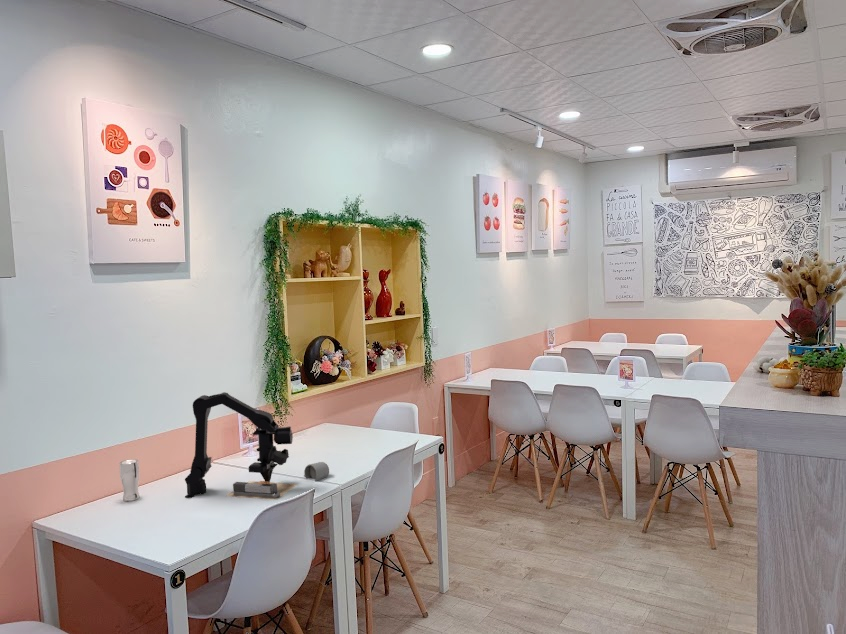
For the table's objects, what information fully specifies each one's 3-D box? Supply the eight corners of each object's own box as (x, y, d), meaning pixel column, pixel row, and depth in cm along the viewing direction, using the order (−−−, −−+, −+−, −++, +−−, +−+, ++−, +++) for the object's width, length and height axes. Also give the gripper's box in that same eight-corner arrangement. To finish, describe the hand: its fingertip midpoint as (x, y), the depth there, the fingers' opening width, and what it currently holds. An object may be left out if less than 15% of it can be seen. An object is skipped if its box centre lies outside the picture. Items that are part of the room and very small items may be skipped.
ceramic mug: (331, 479, 274) (330, 461, 273) (317, 484, 267) (316, 466, 267) (313, 475, 280) (312, 457, 280) (299, 480, 274) (298, 462, 273)
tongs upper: (273, 491, 252) (273, 484, 252) (270, 493, 249) (270, 486, 249) (236, 488, 256) (236, 481, 256) (233, 491, 253) (232, 483, 253)
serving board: (225, 499, 253) (225, 496, 253) (249, 483, 270) (249, 481, 270) (277, 502, 248) (276, 499, 247) (297, 486, 265) (297, 484, 265)
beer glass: (133, 502, 252) (131, 464, 251) (117, 501, 254) (115, 464, 253) (144, 496, 259) (142, 459, 258) (129, 495, 261) (126, 458, 260)
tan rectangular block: (257, 493, 255) (256, 483, 255) (261, 490, 258) (260, 480, 257) (266, 493, 254) (266, 483, 254) (270, 491, 257) (269, 481, 256)
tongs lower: (281, 495, 252) (281, 483, 251) (277, 498, 248) (276, 486, 248) (237, 492, 256) (237, 480, 256) (232, 495, 253) (232, 483, 253)
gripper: (273, 452, 247) (275, 492, 248) (295, 439, 265) (296, 476, 266) (246, 451, 250) (248, 490, 251) (270, 438, 268) (272, 475, 269)
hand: (267, 483), depth 259 cm, fingers closed
